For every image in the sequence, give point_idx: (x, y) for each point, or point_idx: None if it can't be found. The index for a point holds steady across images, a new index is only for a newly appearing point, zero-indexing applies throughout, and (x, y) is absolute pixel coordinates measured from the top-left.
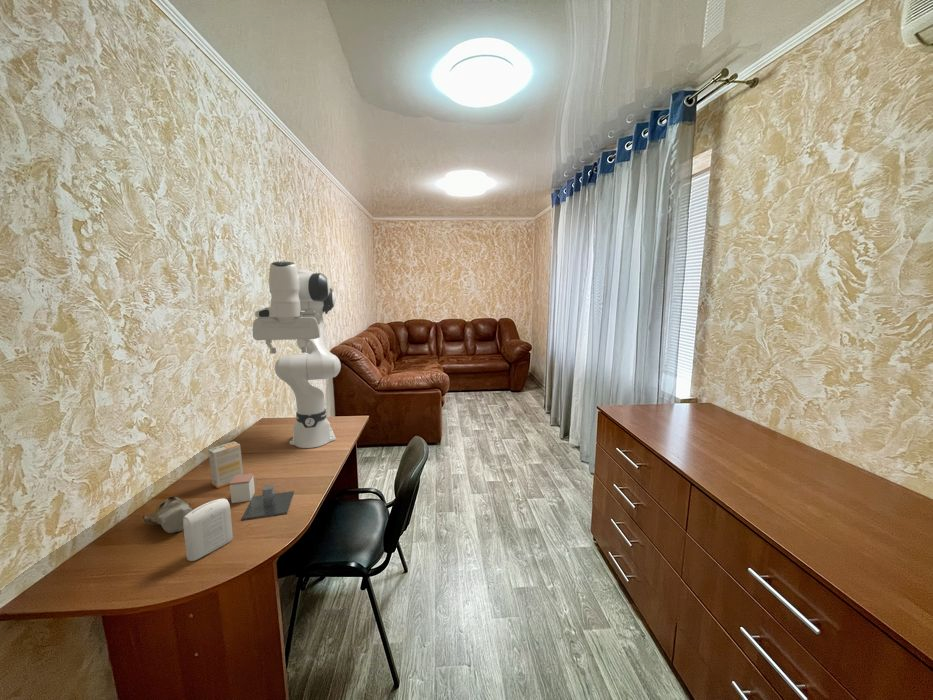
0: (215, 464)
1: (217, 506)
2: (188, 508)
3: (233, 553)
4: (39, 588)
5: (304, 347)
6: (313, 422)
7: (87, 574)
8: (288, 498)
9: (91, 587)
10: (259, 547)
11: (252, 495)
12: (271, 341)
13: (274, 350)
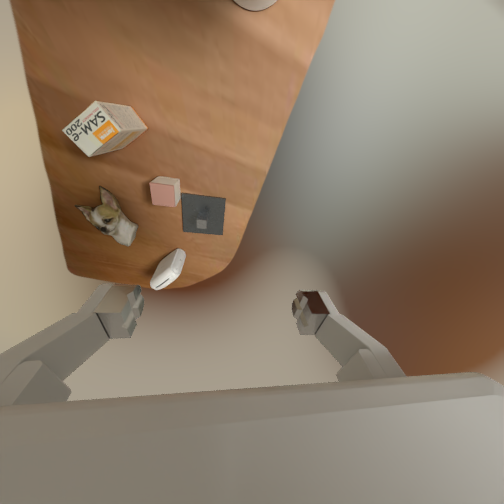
0: (102, 153)
1: (172, 281)
2: (131, 236)
3: (191, 266)
4: (72, 262)
5: (318, 335)
6: None
7: (95, 258)
8: (221, 212)
9: (111, 270)
10: (208, 266)
11: (179, 189)
12: (43, 385)
13: (133, 324)
